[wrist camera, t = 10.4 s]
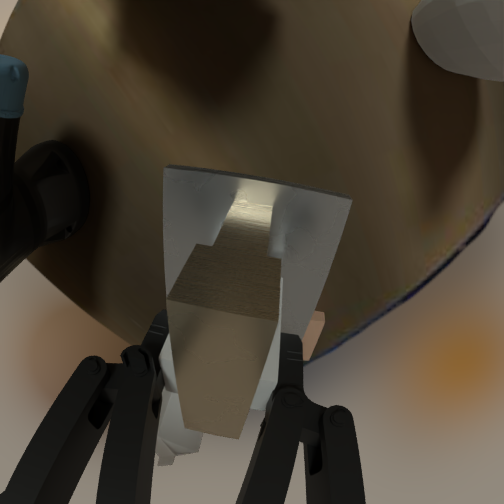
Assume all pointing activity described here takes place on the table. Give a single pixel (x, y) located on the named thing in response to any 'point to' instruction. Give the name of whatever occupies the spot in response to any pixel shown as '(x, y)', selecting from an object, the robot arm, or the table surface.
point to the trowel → (239, 281)
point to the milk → (174, 431)
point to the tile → (312, 334)
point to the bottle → (462, 35)
